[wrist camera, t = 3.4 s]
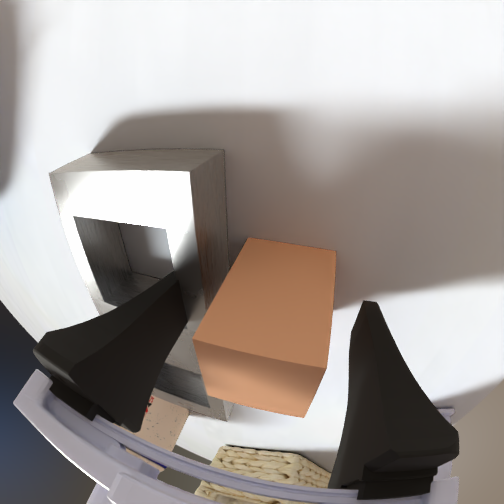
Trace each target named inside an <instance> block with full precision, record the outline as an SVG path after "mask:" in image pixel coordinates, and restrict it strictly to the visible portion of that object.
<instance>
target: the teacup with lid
mask: <svg viewBox="0 0 504 504" xmlns="http://www.w3.org/2000/svg"><path fill="white" fill-rule="evenodd" d="M188 416H189V411H188V409H186V408H183V407H181V406H178V405H175V404H173V403H170V402H168V401H165V400H163V399H160V398H158V397H155V396H153V395H151V397H150V400H149V403H148V406H147V409H146V412H145V415H144V419H143V422H142V426H141V430H140V431H139V432H136V433H133V432H131V431H129V430H127V429H125V428H123V427H121V426H118V425H116V424H114V423H113V424H114V425H116V426H118V427H120V428H122V429H124V430H126V431H128V432H129V433H131V434H133V435H135V436H137V437H139V438H141V439H144V440H146V441H148V442H150V443H152V444H154V445H157V446H159V447H161V448H163V449H166V450H168V451H171V452H172V450H173V448H174V446H175V443H176V441H177V439H178V437H179V435H180V433H181V431H182V428H183V426H184V424H185V422H186V420H187V418H188ZM125 448H126V451H127V452H129V453H130V454H132V455H134V456H136V457H138V458H140V459H142V460H143V461H145V462H146V463H148V464H150V465H151V466H153V467H155V468H157V469H159V471H163V470H164V468H166V467H167V466H165V465H162V464H160V463H158V462H156V461H153V460H151V459H149V458H147V457H145V456H143V455H141V454H139V453H137V452H135V451H133V450H131V449H129V448H127V447H125Z"/></svg>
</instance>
